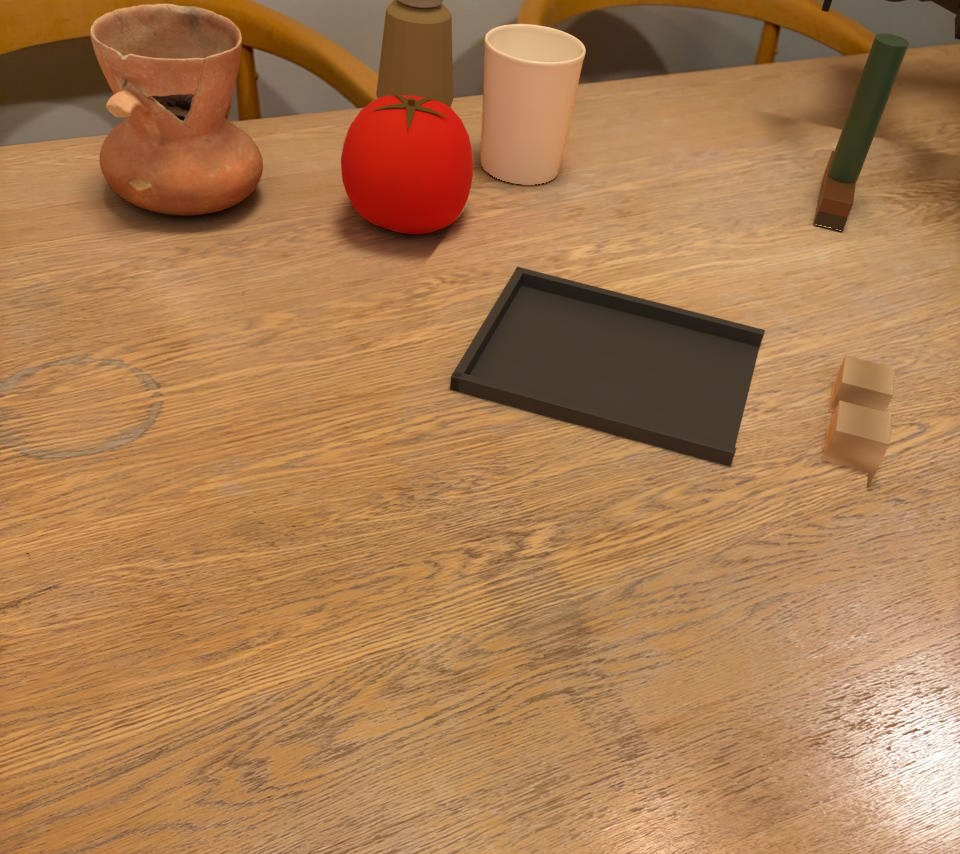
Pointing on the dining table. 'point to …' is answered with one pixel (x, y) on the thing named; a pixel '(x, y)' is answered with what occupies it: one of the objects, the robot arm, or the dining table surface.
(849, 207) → the brush
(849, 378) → the cube
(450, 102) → the squeeze bottle
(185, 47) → the ceramic jug
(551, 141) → the pink cup
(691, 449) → the tray
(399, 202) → the tomato
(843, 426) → the cube
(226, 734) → the dining table surface
